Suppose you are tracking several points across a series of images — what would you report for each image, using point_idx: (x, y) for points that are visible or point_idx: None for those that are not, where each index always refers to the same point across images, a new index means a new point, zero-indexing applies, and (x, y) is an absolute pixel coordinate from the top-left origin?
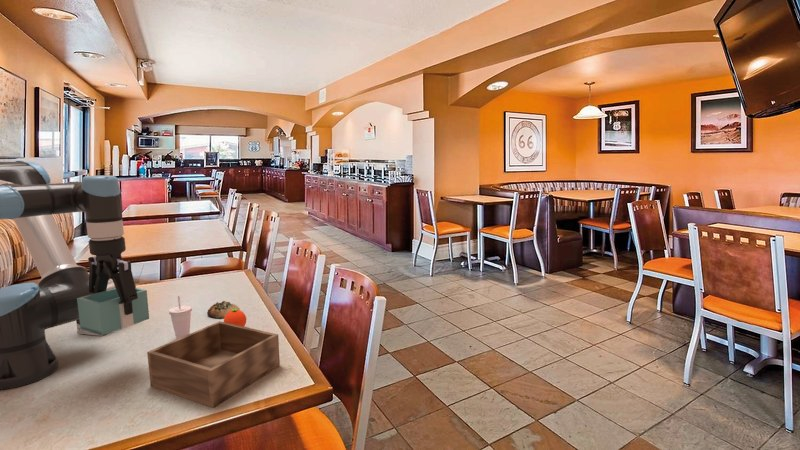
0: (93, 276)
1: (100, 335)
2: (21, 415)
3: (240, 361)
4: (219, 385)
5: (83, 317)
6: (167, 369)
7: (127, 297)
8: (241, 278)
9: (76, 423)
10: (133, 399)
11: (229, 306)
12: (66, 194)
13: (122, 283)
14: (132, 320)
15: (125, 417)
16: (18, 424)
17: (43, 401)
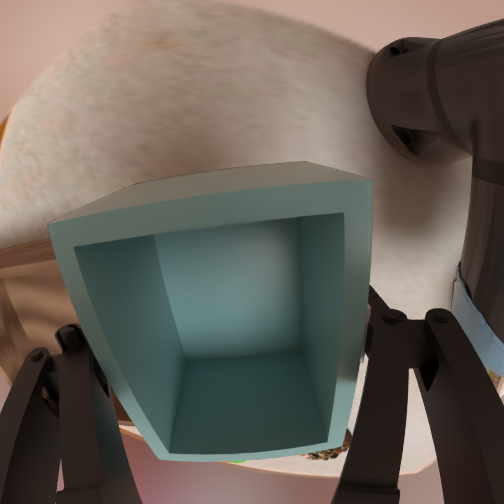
0: (462, 420)
1: (456, 280)
2: (220, 20)
3: None
4: None
5: (275, 169)
6: (34, 254)
7: (23, 363)
8: (403, 470)
9: (92, 79)
10: (87, 180)
11: (311, 455)
12: None
13: (8, 432)
14: None
15: (44, 147)
16: (186, 10)
17: (246, 58)
